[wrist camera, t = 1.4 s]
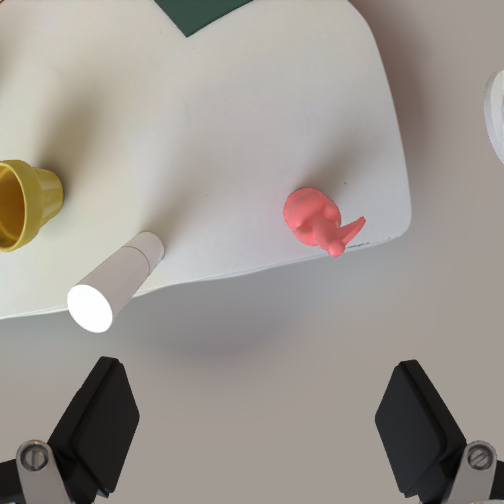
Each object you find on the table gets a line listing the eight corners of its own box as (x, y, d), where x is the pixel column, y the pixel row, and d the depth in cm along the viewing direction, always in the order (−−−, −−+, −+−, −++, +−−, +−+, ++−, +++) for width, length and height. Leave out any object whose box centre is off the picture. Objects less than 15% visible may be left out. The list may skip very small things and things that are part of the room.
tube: (153, 225, 33) (92, 276, 19) (170, 257, 35) (122, 324, 20) (126, 240, 34) (58, 295, 20) (142, 270, 35) (87, 337, 21)
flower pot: (31, 147, 30) (-18, 151, 20) (83, 168, 31) (34, 176, 22) (17, 215, 33) (-27, 233, 23) (66, 241, 34) (22, 267, 25)
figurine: (305, 173, 31) (347, 189, 17) (333, 208, 33) (388, 249, 18) (270, 202, 33) (283, 241, 18) (299, 236, 34) (330, 296, 20)
